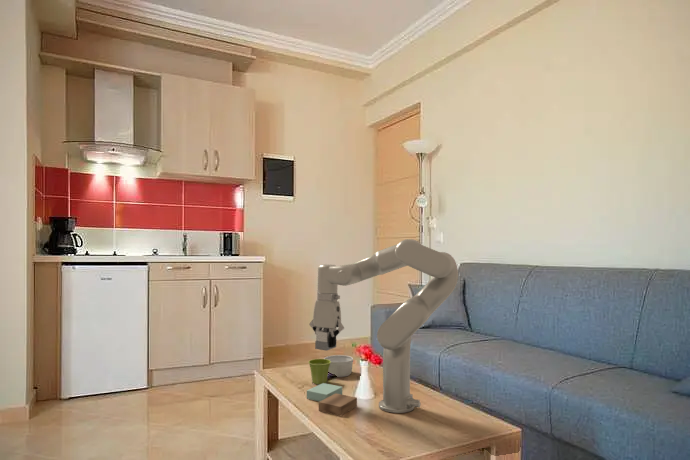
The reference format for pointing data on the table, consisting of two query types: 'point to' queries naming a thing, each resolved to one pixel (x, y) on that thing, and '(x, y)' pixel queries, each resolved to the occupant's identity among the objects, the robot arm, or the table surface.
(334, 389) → the stand teal
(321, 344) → the block
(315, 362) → the plant pot
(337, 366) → the ramekin
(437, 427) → the table surface
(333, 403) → the stand walnut
